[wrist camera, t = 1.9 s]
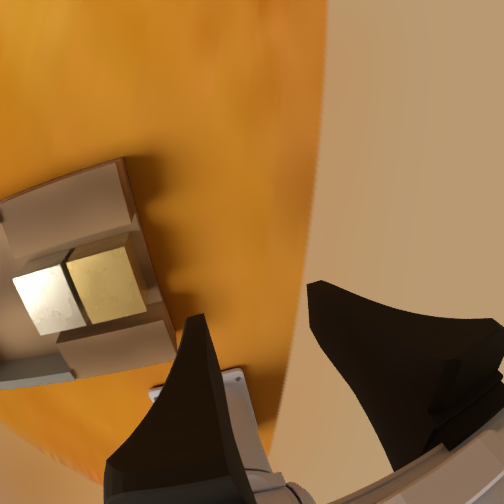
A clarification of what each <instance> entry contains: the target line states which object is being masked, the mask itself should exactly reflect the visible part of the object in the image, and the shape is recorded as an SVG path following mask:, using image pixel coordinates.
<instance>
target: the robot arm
mask: <svg viewBox="0 0 504 504" xmlns="http://www.w3.org/2000/svg"><path fill="white" fill-rule="evenodd" d="M307 296H308V309H309V324H310V329H311V331H312V332H313V334H314V336H315V338H316V340H317V342H318V344H319V345H320V347H321V348H322V350H323V351H324V353H325V354H326V355H327V357H328V358H329V359H330V361H331V362H332V363H333V365H334V366H335V367H336V369H337V370H338V371H339V373H340V374H341V375H342V376H343V378H344V379H345V381H346V382H347V383H348V384H349V386H350V387H351V389H352V390H353V392H354V394H355V395H356V397H357V399H358V400H359V402H360V404H361V406H362V407H363V409H364V411H365V413H366V415H367V416H368V418H369V420H370V422H371V424H372V426H373V428H374V430H375V432H376V433H377V435H378V438H379V440H380V442H381V444H382V446H383V448H384V450H385V452H386V455H387V457H388V459H389V462H390V464H391V466H392V469H393V471H394V473H392V474H390V475H388V476H386V477H384V478H382V479H381V480H379V481H377V482H375V483H373V484H371V485H369V486H367V487H364V488H362V489H360V490H358V491H356V492H354V493H352V494H349V495H347V496H345V497H343V498H340V499H338V500H336V501H333V502H331V503H328V504H504V384H503V383H502V382H501V380H502V378H503V375H502V374H501V373H500V372H499V371H498V368H499V366H500V364H501V361H502V359H503V357H504V327H503V326H502V325H500V324H499V323H498V322H496V321H495V320H494V319H492V318H484V319H454V318H442V317H434V316H428V315H421V314H416V313H411V312H407V311H403V310H399V309H395V308H392V307H389V306H386V305H383V304H380V303H377V302H374V301H371V300H369V299H366V298H364V297H361V296H359V295H356V294H354V293H351V292H349V291H347V290H344V289H342V288H340V287H337V286H335V285H333V284H330V283H328V282H325V281H322V280H320V281H317V282H314V283H310V284H307ZM237 377H239V378H237ZM149 397H150V398H151V400H152V402H153V405H152V407H151V408H150V410H149V412H148V413H147V415H146V416H145V417H144V419H143V420H142V421H141V423H140V424H139V425H138V427H137V428H136V429H135V430H134V432H133V433H132V434H131V436H130V437H129V438H128V439H127V440H126V441H125V442H124V443H123V444H122V445H121V446H120V447H119V448H118V449H117V450H116V451H115V452H114V453H113V454H112V455H111V456H110V457H109V458H108V459H107V460H106V467H105V472H104V504H316V503H315V501H314V500H313V498H312V497H311V495H310V494H309V493H308V492H307V491H306V490H305V489H303V488H302V487H301V486H299V485H298V484H296V483H294V482H289V483H285V480H284V478H283V476H282V473H281V472H277V473H273V472H272V470H271V467H270V465H269V462H268V459H267V457H266V454H265V451H264V449H263V446H262V443H261V441H260V438H259V435H258V433H257V430H258V425H257V422H256V418H255V415H254V411H253V407H252V404H251V400H250V396H249V392H248V389H247V385H246V381H245V377H244V373H243V371H242V369H240V368H235V369H231V370H227V371H224V372H221V370H220V366H219V363H218V359H217V356H216V352H215V349H214V346H213V343H212V339H211V336H210V333H209V329H208V326H207V323H206V319H205V316H204V313H203V314H199V315H195V316H191V317H187V319H186V320H185V325H184V330H183V335H182V338H181V342H180V345H179V348H178V351H177V355H176V357H175V360H174V363H173V365H172V368H171V370H170V373H169V375H168V377H167V379H166V382H165V384H164V386H161V387H156V388H152V389H150V390H149ZM156 397H157V398H156Z"/></svg>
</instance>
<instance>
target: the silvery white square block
mask: <svg viewBox="0 0 504 504" xmlns="http://www.w3.org/2000/svg"><path fill="white" fill-rule="evenodd" d="M72 253H73V251H72V248H69V249H66V250H63V251H59V252H56V253H53V254H50V255H46V256H43V257H40V258H37V259H34V260H31V261H27V262H26V263H25V265H24V266H23V267H22V268H21V269H20V271H19V272H18V273H17V274H16V275H15V277H14V278H13V281H14V284H15V286H16V288H17V290H18V292H19V295H20V297H21V299H22V301H23V303H24V305H25V307H26V309H27V311H28V313H29V315H30V317H31V319H32V321H33V323H34V324H35V326H36V328H37V330H38V332H39V334H40V335H46V334H51V333H55V332H60V331H64V330H69V329H73V328H78V327H82V326H87V323H88V319H89V316H88V314H87V312H86V310H85V307H84V305H83V303H82V301H81V298H80V296H79V294H78V292H77V289H76V287H75V284H74V282H73V280H72V277H71V275H70V272H69V270H68V267H67V265H66V262H67V260H68V259H69V257H70V256H71V254H72Z"/></svg>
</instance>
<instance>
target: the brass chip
mask: <svg viewBox="0 0 504 504" xmlns="http://www.w3.org/2000/svg"><path fill="white" fill-rule="evenodd" d="M66 265H67V267H68V270H69V272H70V275H71V277H72V280H73V282H74V284H75V287H76V289H77V292H78V294H79V296H80V298H81V301H82V303H83V305H84V307H85V310H86V312H87V314H88V316H89V318H90V320H91V322H92V324H96V323H100V322H104V321H109V320H113V319H117V318H121V317H126V316H130V315H134V314H138V313H142V312H146V311H147V302H148V288H147V285H146V282H145V279H144V276H143V273H142V270H141V267H140V264H139V261H138V258H137V255H136V252H135V249H134V245H133V242H132V239H131V236H130V232H125V233H121V234H118V235H114V236H111V237H107V238H104V239H100V240H97V241H93V242H90V243H86V244H83V245H79V246H77V247H76V248H75V250H74V251H73V253H72V254H71V256H70V257H69V259H68V260H67V262H66Z"/></svg>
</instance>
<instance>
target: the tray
mask: <svg viewBox="0 0 504 504" xmlns="http://www.w3.org/2000/svg"><path fill="white" fill-rule="evenodd" d="M0 224H1V220H0ZM75 379H76V377H75V375H74V374H73V372H72V370H71V369H70V367H69V366H68V364H67V362H66V361H65V359H64V358H63V356H62V354H61V353H60V352H58V353H53V354H47V355H42V356H36V357H31V358H25V359H19V360H13V361H7V362H0V390H5V389H15V388H24V387H32V386H40V385H48V384H55V383H62V382H68V381H75Z"/></svg>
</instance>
